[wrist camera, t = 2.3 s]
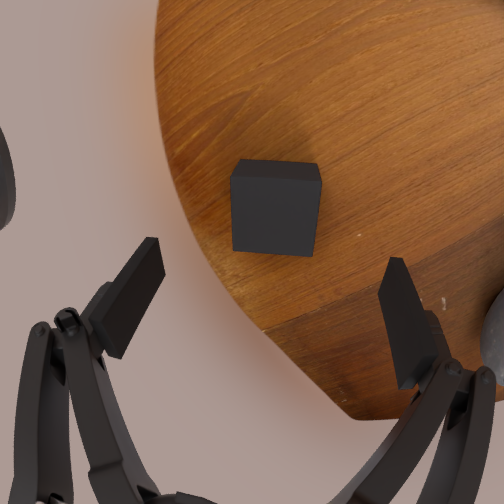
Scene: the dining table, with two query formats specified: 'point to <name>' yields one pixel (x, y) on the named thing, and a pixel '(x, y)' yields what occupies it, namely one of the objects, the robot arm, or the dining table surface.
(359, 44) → the dining table surface
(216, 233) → the dining table surface
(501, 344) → the bowl
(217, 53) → the dining table surface
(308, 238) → the black block
